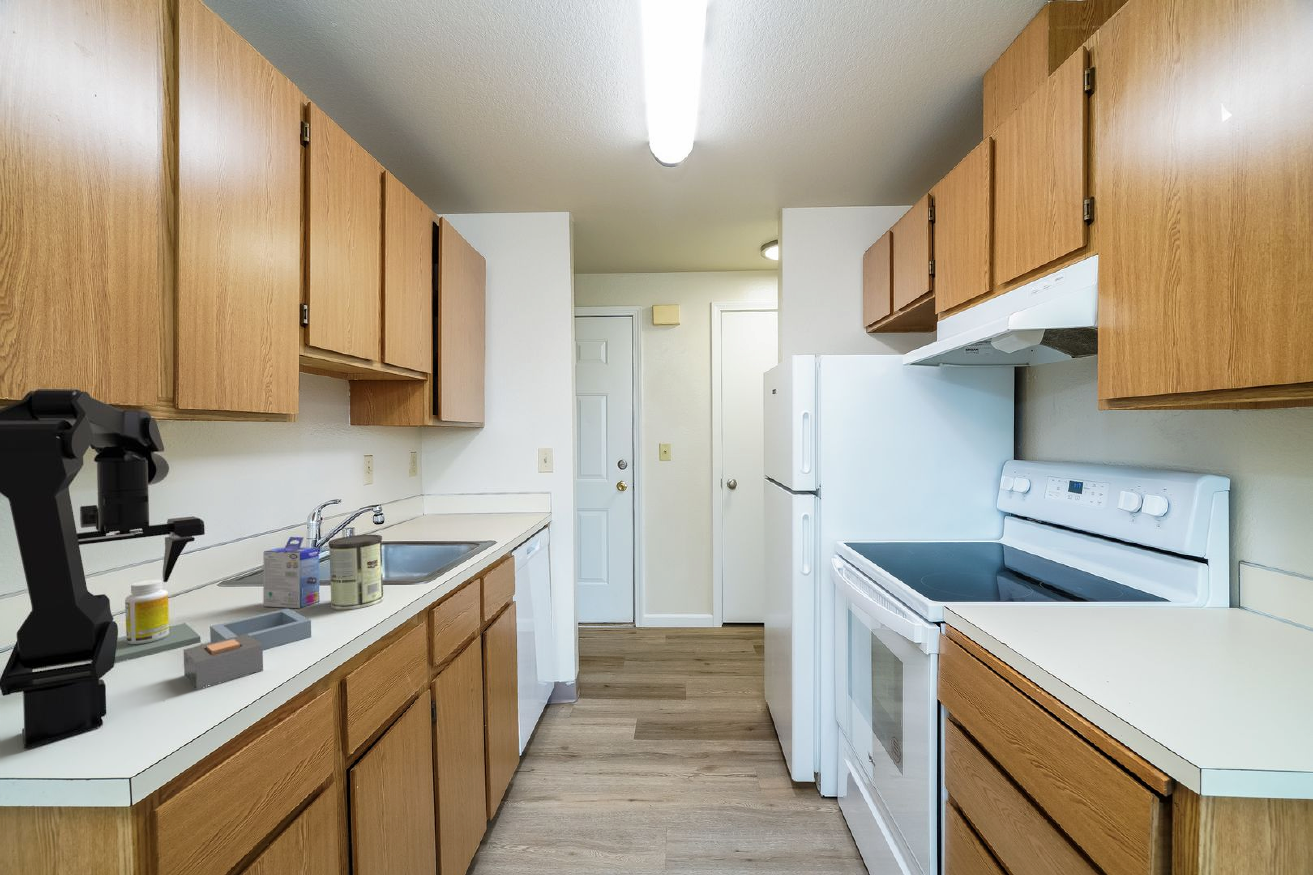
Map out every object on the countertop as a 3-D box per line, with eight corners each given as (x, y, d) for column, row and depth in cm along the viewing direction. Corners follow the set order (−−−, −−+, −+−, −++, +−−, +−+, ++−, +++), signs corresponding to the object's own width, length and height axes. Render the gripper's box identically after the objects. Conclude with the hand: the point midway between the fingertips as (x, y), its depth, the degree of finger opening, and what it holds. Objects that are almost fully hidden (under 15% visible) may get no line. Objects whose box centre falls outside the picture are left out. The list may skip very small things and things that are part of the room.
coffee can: (345, 596, 123) (343, 535, 123) (391, 594, 124) (390, 533, 124) (319, 611, 113) (318, 544, 113) (370, 609, 113) (368, 542, 113)
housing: (229, 659, 89) (228, 640, 88) (210, 642, 96) (210, 625, 96) (311, 636, 98) (310, 620, 98) (288, 623, 105) (287, 608, 105)
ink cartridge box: (321, 601, 120) (320, 536, 120) (300, 609, 114) (299, 541, 114) (284, 599, 122) (283, 535, 122) (262, 607, 116) (260, 540, 116)
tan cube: (212, 670, 81) (212, 650, 81) (207, 665, 83) (206, 645, 83) (240, 663, 83) (239, 643, 83) (234, 657, 86) (233, 638, 86)
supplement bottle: (178, 633, 98) (176, 577, 98) (146, 645, 93) (144, 586, 92) (150, 633, 99) (148, 577, 98) (117, 645, 93) (115, 586, 93)
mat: (105, 665, 87) (105, 659, 87) (96, 648, 95) (96, 642, 95) (200, 641, 97) (200, 636, 96) (185, 628, 104) (185, 622, 104)
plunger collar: (196, 690, 78) (196, 662, 78) (184, 675, 83) (183, 649, 83) (263, 670, 84) (262, 644, 84) (247, 657, 89) (247, 633, 89)
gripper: (188, 482, 97) (191, 569, 97) (30, 493, 83) (33, 594, 83) (204, 485, 90) (206, 578, 90) (34, 497, 76) (37, 607, 76)
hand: (126, 588), depth 85 cm, fingers open, 9 cm apart
